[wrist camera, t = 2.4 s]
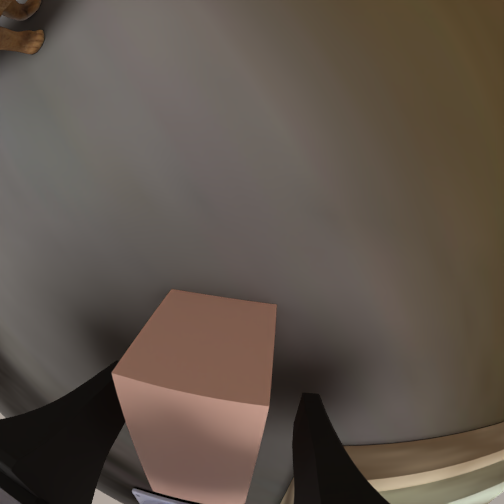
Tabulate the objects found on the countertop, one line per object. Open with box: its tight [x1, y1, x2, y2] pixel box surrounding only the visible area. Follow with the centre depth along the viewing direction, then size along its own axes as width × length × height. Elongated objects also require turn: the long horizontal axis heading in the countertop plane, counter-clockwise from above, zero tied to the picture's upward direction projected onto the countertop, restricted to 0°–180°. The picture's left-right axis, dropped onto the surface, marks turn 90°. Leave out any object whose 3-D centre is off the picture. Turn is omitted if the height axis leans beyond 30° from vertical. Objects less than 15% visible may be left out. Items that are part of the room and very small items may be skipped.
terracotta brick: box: [112, 289, 277, 504], centre depth 10 cm, size 8×4×5 cm, turn 174°
